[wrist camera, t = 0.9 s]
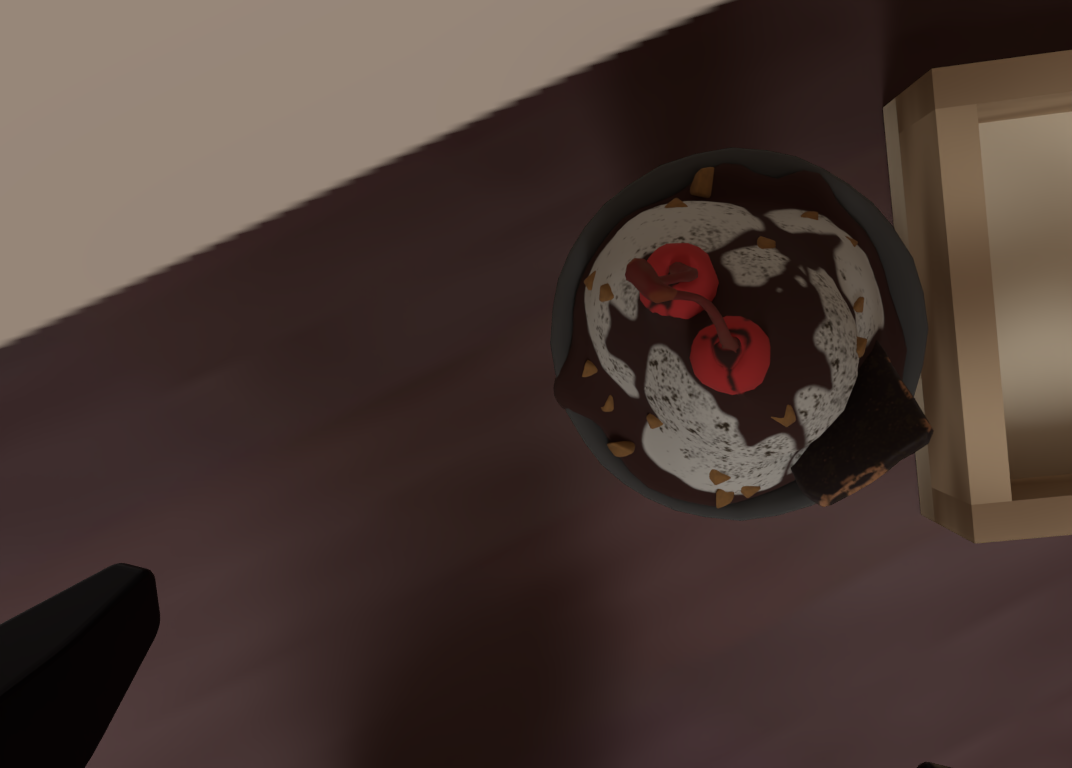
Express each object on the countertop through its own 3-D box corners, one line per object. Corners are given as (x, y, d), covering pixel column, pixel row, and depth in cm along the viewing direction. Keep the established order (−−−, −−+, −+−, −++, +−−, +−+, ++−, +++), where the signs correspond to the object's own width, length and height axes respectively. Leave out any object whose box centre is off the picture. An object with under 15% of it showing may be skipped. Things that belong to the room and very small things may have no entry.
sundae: (542, 257, 25) (467, 135, 10) (764, 202, 25) (1028, -11, 10) (592, 469, 25) (590, 655, 10) (812, 419, 25) (1144, 543, 10)
